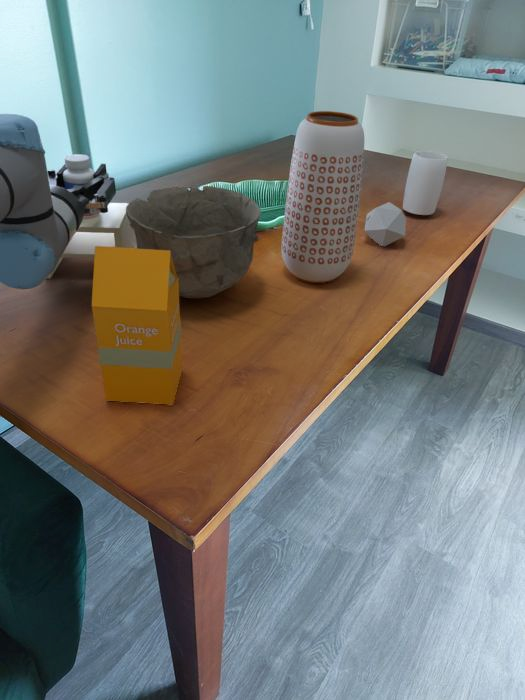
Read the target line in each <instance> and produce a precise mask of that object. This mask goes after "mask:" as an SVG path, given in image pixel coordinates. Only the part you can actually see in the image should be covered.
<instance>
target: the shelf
mask: <svg viewBox="0 0 525 700" xmlns="http://www.w3.org/2000/svg"><path fill="white" fill-rule="evenodd" d="M129 203H130V202H110V203H109V205H108V206H107V207H108V212H107V213H101V212H100V213H99V214H98V215H97V216H95V217H91V218H83V220H82V223H81V225H80V226H79V228H78V230H77V231H76V233H75V234H74V235H73V237H72V239H71V241H70V242H69V244H68V245H67V247H66V249H65V251H64V252H63V254H62V256H61V258H60V259H59V261H58V263H57V265H56V267H55V270H54V271H53V272H52V273H51V274H50V275H49V276H48V277H47V278H46V279H51V278H52V277H53V275H54V273H55V272H56V270H57V269H58V268H59V265H60V264H61V262H62V260H63V259H64V258H68V259H69V258H71V259H72V258H73V259H95V246H104V247H120V248H135V240H134V229H133V228H132V227H131V226H130V224H131V223H130V221H129V219H128V217H127V214H126V206H127V205H128V204H129Z"/></svg>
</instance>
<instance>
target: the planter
mask: <svg viewBox="0 0 525 700" xmlns="http://www.w3.org/2000/svg"><path fill="white" fill-rule="evenodd" d="M364 131H365V130H364V127H363V126H362V124H361V123H360V122H359V118H358V117H357V116H355V115H354V114H351V113H346V112H340V111H333V110H332V111H331V110H330V111H329V110H317V111H312V112H309V113H307V115H306V117H305V118H303V120H302V121H300V123H299V125H298V127H297V129H296V133H295V139H294V144H293V149H292V150H293V151H292V155H291V161H290V168H289V175H288V183H287V189H286V199H285V206H284V207H285V208H284V217H283V224H282V236H281V244H280V245H281V249H280V251H281V257H282V260H283V261H282V262H283V263H284V265H285V267H286V268H287V269H288V271H289V272H290V273H291V275H292V276H293V277H294V278H296V279H297V280H299V281H301V282H303V283H307V282H308V283H307V284H314V283H322V284H327V283H326V282H328V283H331V282H333V281H335V280H336V279H337V278H339V276H341V275H342V274H343V273H344V272H345V271H346V270H347V269H348V267H349V265H350V263H351V261H352V258H353V254H354V250H355V249H354V248H355V241H356V233H357V227H358V226H357V225H358V218H359V211H360V210H359V209H360V202H361V193H362V183H363V182H362V181H363V172H364V160H365V159H364V157H365V132H364ZM334 279H335V280H334ZM330 281H331V282H330Z"/></svg>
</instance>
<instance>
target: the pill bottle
mask: <svg viewBox="0 0 525 700" xmlns="http://www.w3.org/2000/svg"><path fill="white" fill-rule="evenodd" d="M64 164H65V165H66V167H67V169H66V170H65V171H64V172H63V180H64V186H65V189H66V190H67V189H72V188H74V187H75V186H83V185H84V184H86V183H88V182H89V181H91V180H93V179H94V173H95V172H96V171H95V170H94V169H92V168H90V167H91V160H90V156H89V155H86V154H82V153H81V154H80V153H74V154H68V155H66V156H65V157H64ZM99 213H100V210H96V208H95V209H90V211H89V212H88V213H87V214H85V215H84V216H83V218H91V217H95V216H97V215H98V214H99Z"/></svg>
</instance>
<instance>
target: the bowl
mask: <svg viewBox="0 0 525 700" xmlns="http://www.w3.org/2000/svg"><path fill="white" fill-rule="evenodd" d="M128 203H129V204H128V205H127V206H126V214H127V217H128V219H129V221H130V223H131V224H130V226H131V227H132V228H133V233H134V235H135V241H136V242H135V243H136V249H152V250H169V251H170V253H171V256H172V260H173V264H174V268H175V271H176V275H177V278H178V284H179V297H182V298H186V299H205V298H211V297H213V296H216V295H217V294H219V293H221V292H223V291H226V290H227V289H229V288H231V287H233V286H234V285H236V283H238V282H239V281H240V280H241V279H242V278H243V277H244V276H245V274H247V272H248V270H249V269H250V267H251V265H252V263H253V259H254V244H255V243H256V242H259V236H258V235H257V234H256V231H257V227H258V223H259V220H260V218H261V215H262V211H261V207H260V206H259V204H258V203H257V202H256V201H255V200H254V199H252V198H251V197H249V196H247V195H245V194H243V193H241V192H239V191H235V190H231V189H228V188H224V187H216V186H210V185H204V186H202V190H201V189H200V188H199V187H197V186H190V188H188V187H181V186H168V187H164V188H157V189H153V190H150V191H149V194H148V197H147V198H146V200H143V199H141V198H139V197H136V198H135V199H132V200H131V201H129V202H128Z"/></svg>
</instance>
